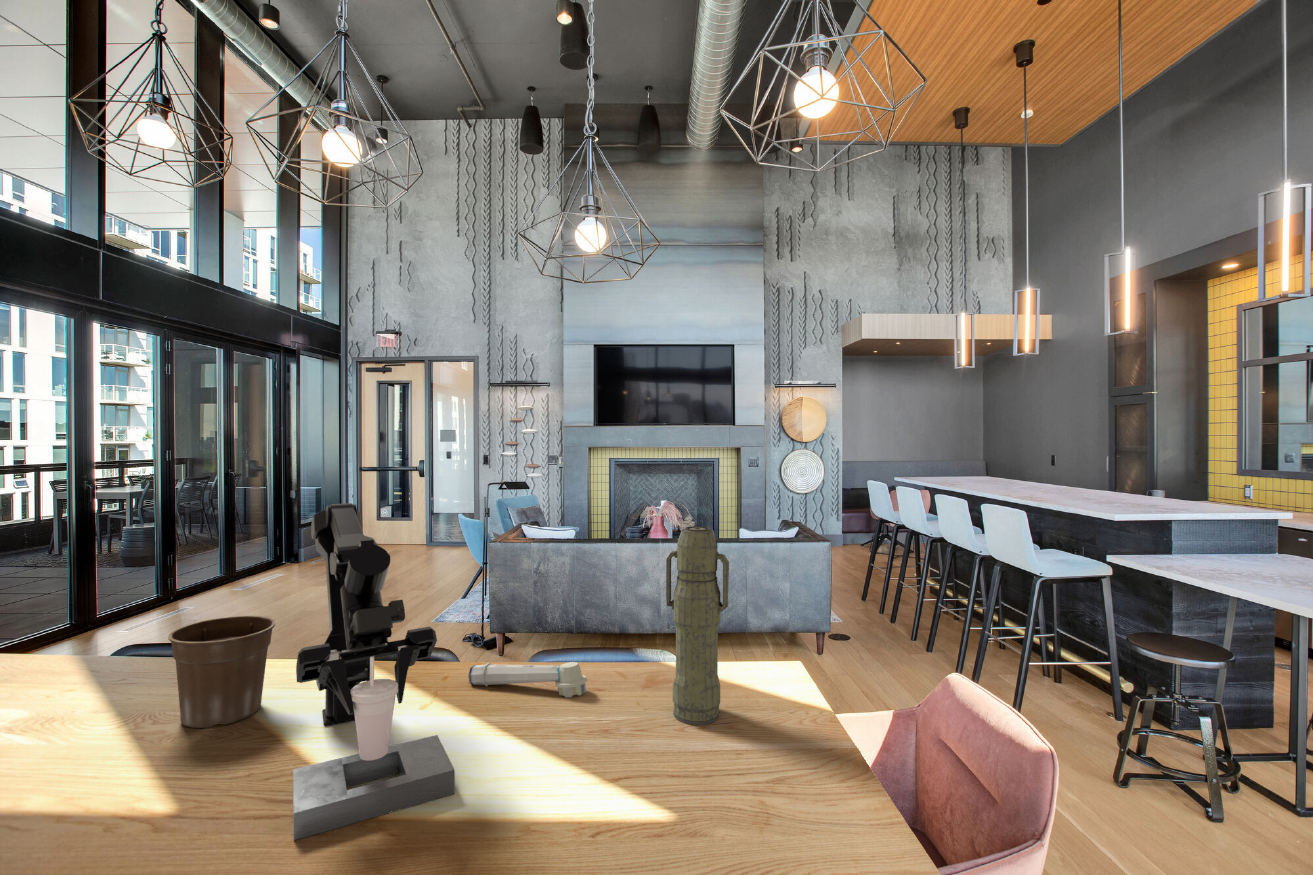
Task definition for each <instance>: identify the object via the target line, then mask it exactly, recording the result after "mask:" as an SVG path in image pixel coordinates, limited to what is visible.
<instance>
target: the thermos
mask: <svg viewBox="0 0 1313 875" xmlns="http://www.w3.org/2000/svg"><path fill="white" fill-rule="evenodd" d="M676 545H677V546H676V550H672V551H671V552H669V554H668V556H667V558H666V559H665V561H666V562H665V564H666V565H665V566H666V570H665V571H666V573H665V578H666V579H665V580H666V581H665V596H666V597H665V599H666V606H667V607H671V610H673V622H674V624H675V678H674V679H673V683H672V702H673V712H672V713H673V714H672V715H673V717H674V718H675V719H676V720H677V721H679V722H680V723H683V724H685V725H686V724H687V725H693V726H703V725H704V726H705V725H710V724H713V723H715V722H716V721H718V720H719V718H720V704H721V682H720V678H719V675H718V670H719V669H718V666H719V665H718V657H719V656H718V654H719V653H718V651H719V650H718V648H719V647H718V645H719V644H718V642H719V640H718V639H719V637H718V636H719V634H718V633H719V625H720V623H721V613H722V612H723V611H725V610H726V609H727V608H728V606H729V582H730V581H729V580H730V578H729V577H730V561H729V559H728V558H727V556H726V554H723V553H719V552H718V542H717V538H716V535H715V531H714V530H713V529H711V528H710V527H707V526H695V525H693V526H685V528H683V529H681V530H680V534H679V537H678V540H677V543H676ZM673 557H674V558H675V559H676V569H677V576H676V585H675V587H674V591H673V599H672V558H673ZM718 560H720V562H721V563H722V601H721V591H720V588H719V584H718V576H717V571H718Z"/></svg>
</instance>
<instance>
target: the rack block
mask: <svg viewBox="0 0 1313 875" xmlns="http://www.w3.org/2000/svg"><path fill="white" fill-rule="evenodd" d="M292 773H293V774H292V775H293V776H292V777H293V778H292V786H293V787H292V798H293V799H292V804H293V805H292V811H293V813H292V814H293V815H292V816H293V818H292V820H293V822H292V823H293V827H292V829H293V834H292V836H293V837H292V839H293V841H297V840H301V839H304V838H307V837H310V836H314V835H318V834H322V833H324V832H327V831H328V832H329V831H332V830H335V829H339V828H342V827H345V826H348V825H352V824H357V823H359V822H362V821H366V820H369V819H372V818H377V817H380V816H382V815H383V814H384V815H387V814H390V813H389V812H391V811H394V812H397V811H400V810H399V809H401V810H403V809H407V807H408V808H411V807H414V806H417V805H421V804H424V803H428V802H430V801H431V802H432V801H435V800H438V799H442V798H445V797H450V796H452V795H455V777H456V776H455V773H456V770H455V767H454V765H453V764H452V761H451V759H450V757H449V756H448V754H447V751H446V750H445V748H444V745H443V744H442V742H441V740H440V737H439V735H438V734H435V735H432V736H428V737H424V738H423V737H422V738H419V739H415V740H411V741H407V742H402V743H401V742H400V743H397V744H394V745H389V747H388V753H387V754H386V755H385V756H383V757H381V758H379V759H376V760H369V761H367V760H362V759H361V758H360V754H359V753H356V754H351V755H347V756H343V757H340V758H339V757H338V758H336V759H329V760H326V761H322V762H318V763H315V764H309V765H306V766H301V767H296V768H293V769H292ZM395 775H397V776H395ZM391 776H395V777H392V778H388V777H391ZM384 778H388V779H384ZM380 779H384V780H380ZM377 780H380V781H377ZM371 781H372V783H369V784H366V785H362V786H359V787H354V788H351V789H347V788H349V787H353V786H356V785H360V784H364V783H367V782H371ZM373 781H377V782H373ZM396 810H397V811H396ZM386 813H387V814H386ZM391 813H392V812H391ZM384 815H383V816H384Z"/></svg>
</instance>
